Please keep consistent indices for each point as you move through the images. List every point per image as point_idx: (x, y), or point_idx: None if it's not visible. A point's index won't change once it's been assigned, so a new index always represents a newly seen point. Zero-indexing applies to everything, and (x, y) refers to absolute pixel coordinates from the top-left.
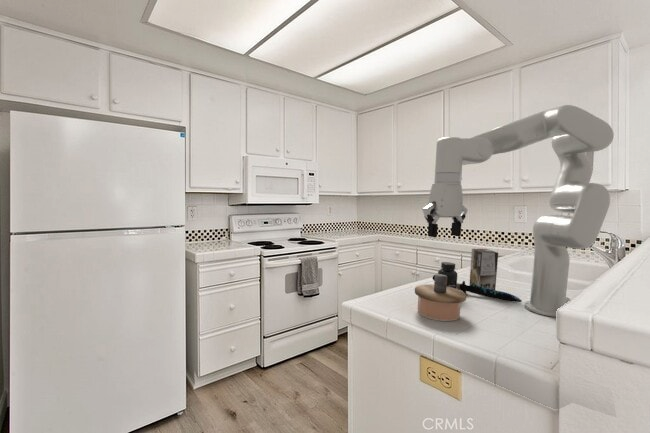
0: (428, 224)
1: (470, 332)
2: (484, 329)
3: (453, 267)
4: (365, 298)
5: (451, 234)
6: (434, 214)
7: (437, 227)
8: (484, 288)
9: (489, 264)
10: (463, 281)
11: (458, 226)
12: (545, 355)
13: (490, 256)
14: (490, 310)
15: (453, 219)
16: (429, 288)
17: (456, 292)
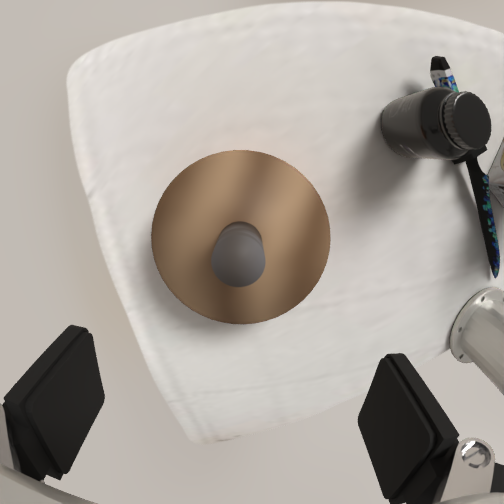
0: (14, 387)
1: (215, 336)
2: (261, 341)
3: (465, 148)
4: (135, 40)
5: (382, 359)
6: None
7: (74, 455)
8: (490, 206)
9: None
10: (482, 148)
11: (381, 477)
12: (254, 427)
13: None
14: (397, 275)
15: (437, 490)
16: (233, 198)
17: (289, 275)
